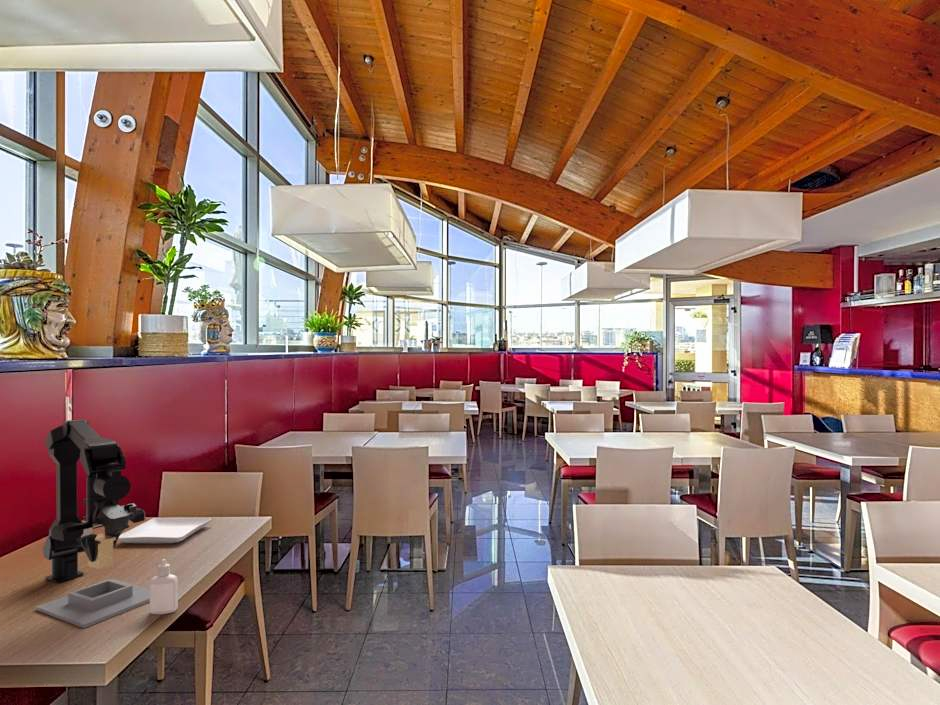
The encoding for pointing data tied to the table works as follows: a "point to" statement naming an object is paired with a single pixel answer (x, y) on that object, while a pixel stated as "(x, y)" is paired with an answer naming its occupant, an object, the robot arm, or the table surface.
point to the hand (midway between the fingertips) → (100, 558)
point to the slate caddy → (96, 602)
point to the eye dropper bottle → (163, 591)
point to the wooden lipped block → (102, 551)
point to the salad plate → (164, 530)
